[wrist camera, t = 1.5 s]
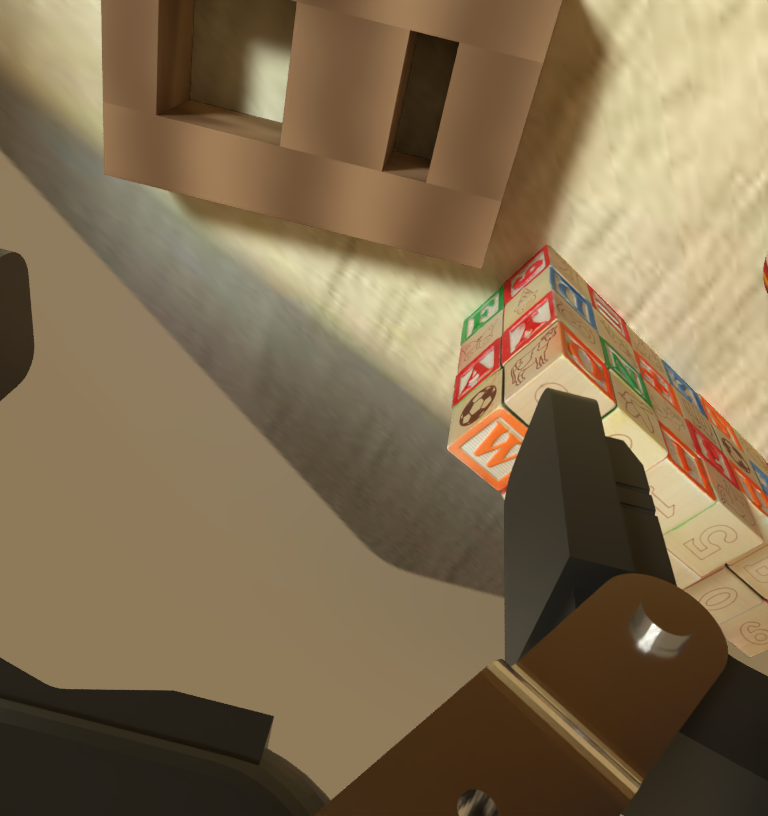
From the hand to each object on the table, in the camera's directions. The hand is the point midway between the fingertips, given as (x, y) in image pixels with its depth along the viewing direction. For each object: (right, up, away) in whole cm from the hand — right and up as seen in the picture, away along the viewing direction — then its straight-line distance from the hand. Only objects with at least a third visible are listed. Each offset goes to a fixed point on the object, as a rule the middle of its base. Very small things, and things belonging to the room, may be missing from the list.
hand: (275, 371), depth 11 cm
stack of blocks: (+16, 0, +29) cm, 33 cm away
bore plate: (-1, +15, +22) cm, 27 cm away
